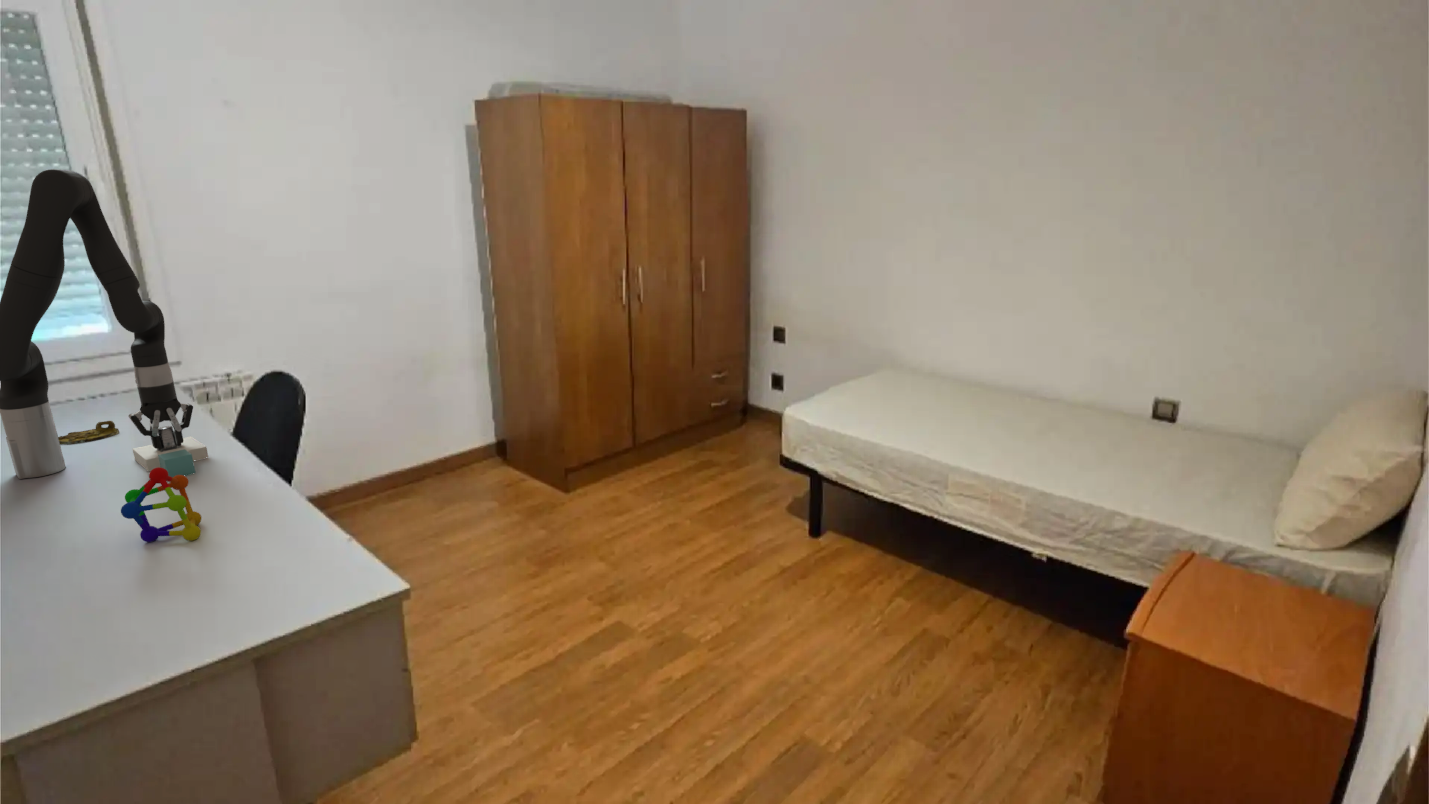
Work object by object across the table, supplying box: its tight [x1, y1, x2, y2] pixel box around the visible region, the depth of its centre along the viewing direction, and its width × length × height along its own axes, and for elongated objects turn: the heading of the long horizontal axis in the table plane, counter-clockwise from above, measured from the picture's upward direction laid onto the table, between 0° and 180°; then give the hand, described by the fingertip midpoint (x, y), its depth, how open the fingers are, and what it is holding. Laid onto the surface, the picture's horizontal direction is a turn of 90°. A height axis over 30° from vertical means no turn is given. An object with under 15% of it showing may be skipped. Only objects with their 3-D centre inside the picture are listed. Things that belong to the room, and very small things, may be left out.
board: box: [132, 436, 209, 473], centre depth 200 cm, size 13×13×3 cm
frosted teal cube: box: [158, 449, 196, 477], centre depth 189 cm, size 6×6×5 cm
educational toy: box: [120, 467, 202, 543], centre depth 153 cm, size 16×13×15 cm
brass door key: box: [58, 420, 120, 445], centre depth 218 cm, size 9×5×15 cm
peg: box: [158, 425, 177, 452], centre depth 199 cm, size 3×3×8 cm
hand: (169, 446), depth 200 cm, fingers open, 3 cm apart
